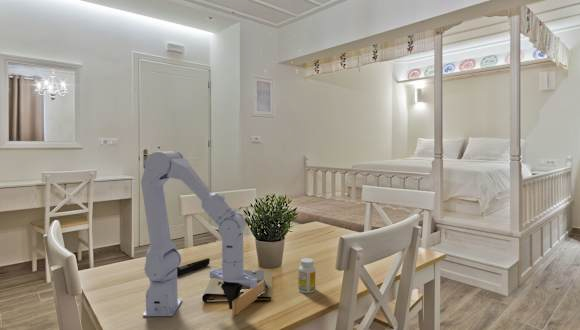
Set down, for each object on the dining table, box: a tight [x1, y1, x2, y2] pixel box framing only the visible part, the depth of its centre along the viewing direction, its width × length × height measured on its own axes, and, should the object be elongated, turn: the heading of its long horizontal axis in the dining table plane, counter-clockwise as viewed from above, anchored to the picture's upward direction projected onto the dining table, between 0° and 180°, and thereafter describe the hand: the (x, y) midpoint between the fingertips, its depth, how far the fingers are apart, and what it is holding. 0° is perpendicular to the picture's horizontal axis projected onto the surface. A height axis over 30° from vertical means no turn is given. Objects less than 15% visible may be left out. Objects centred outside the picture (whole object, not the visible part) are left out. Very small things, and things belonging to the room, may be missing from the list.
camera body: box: [222, 269, 265, 289], centre depth 110 cm, size 9×12×4 cm
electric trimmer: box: [177, 257, 211, 278], centre depth 124 cm, size 4×16×3 cm, turn 140°
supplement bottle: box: [297, 257, 316, 294], centre depth 108 cm, size 5×5×10 cm
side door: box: [231, 279, 266, 317], centre depth 99 cm, size 1×16×4 cm, turn 153°
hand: (233, 307), depth 94 cm, fingers closed
